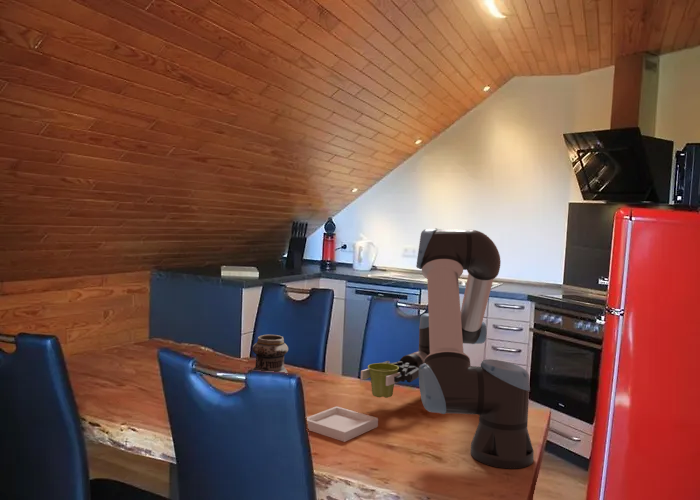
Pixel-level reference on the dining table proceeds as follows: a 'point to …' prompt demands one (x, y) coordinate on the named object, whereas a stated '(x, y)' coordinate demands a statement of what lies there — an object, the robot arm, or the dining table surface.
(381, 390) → the plant pot
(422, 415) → the dining table surface
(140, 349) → the dining table surface
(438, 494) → the dining table surface
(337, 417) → the pot tray
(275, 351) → the apothecary jar
